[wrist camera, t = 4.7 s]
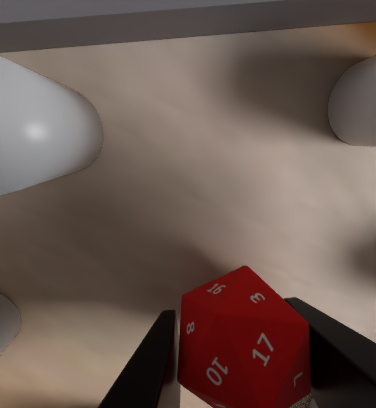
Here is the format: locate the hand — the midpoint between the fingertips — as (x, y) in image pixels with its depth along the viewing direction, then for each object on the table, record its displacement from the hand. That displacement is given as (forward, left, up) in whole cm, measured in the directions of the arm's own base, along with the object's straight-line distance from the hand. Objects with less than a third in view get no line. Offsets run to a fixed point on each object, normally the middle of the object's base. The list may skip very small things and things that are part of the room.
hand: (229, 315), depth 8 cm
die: (0, 0, -1) cm, 1 cm away
